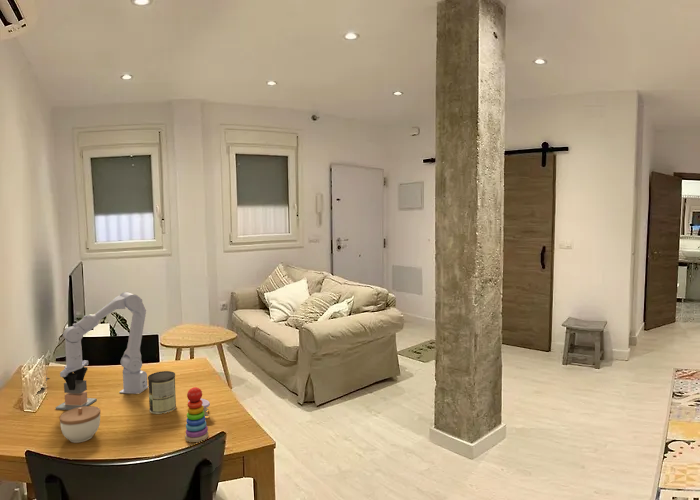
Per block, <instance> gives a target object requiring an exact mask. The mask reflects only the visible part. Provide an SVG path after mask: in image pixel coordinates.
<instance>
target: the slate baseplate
mask: <svg viewBox="0 0 700 500" xmlns="http://www.w3.org/2000/svg"><path fill="white" fill-rule="evenodd" d="M97 400H98V398H93V397H92V398H91V397H87V402H85V403H83V404H82V405H69V404H65V401H64V402H62V403H60V404H59V405H57V406H56V407H55V410H65V411H68V410H71V409H74V408H78V407H83V406H91V405H92V404H93V403H95V402H97Z"/></svg>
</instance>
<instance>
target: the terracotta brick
mask: <svg viewBox="0 0 700 500" xmlns="http://www.w3.org/2000/svg"><path fill="white" fill-rule="evenodd" d="M87 398H88V391H84V392H82V393H65V394H64V402H65V404H69V405H82V404H83V403H85V402H87Z"/></svg>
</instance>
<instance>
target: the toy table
mask: <svg viewBox="0 0 700 500" xmlns="http://www.w3.org/2000/svg"><path fill="white" fill-rule="evenodd" d="M187 400H188V399H187ZM200 400H202V402H203V404H202V406H203V407H204V410H203V411H204V416H209V413H208V412H206V411H207V410H209V408H208V407H210V404H211V403H210V401H209V400H207V399H205V398H201V399H200ZM188 402H189V400H188V401H187V403H188ZM209 411H210V410H209ZM209 417H210V416H209Z"/></svg>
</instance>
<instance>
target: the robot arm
mask: <svg viewBox="0 0 700 500" xmlns="http://www.w3.org/2000/svg"><path fill="white" fill-rule="evenodd" d="M126 308H127V310H129V312H130V313H132V316H131V324H130V330H129V333H128V334H129V335H128V342H127V345H126V349H125V351H124V352H123V355H122V357H121V359H120V365H121V367H122V368H123V370H122V386H123V387H122V388H123V389H121V390H120V391H118V393H120V394H135V395H136V394H137V395H138V394H141V393H142V392H144V391H145V390H147V389H149V385H148V373H147V371H145V370H142V367H143V361H142V354H141V345H142V339H143V334H144V333H143V332H144V327H145V321H146V314H147V310H146V308H145V305H144V303H143V299H142V298H141V297H140V296H139V295H137V294H134V293H132V292H129V291H124V292H122V293H120V294H119V295H116V296H115V297H114V298H113V299H112V300H110V301H109V302H108V303H107V304H106V305H104V306H103V307H102V308H100V309H99V310H97V311H96V312H95V313H94V314H91V313H90V314H87V315H86V314H85V315H83V316H82V317H83V318H82V319H80V320H78V321H77V322H74V323H72V326H68V327H66V328H65V329H64V331H63V333H62V337H63V338H64V339H65V340H64V341H65V342H64V343H65V362H66V364H65V366H64V368H63V370H61V371H60V372H59V376H60V378H63V379H64V381H65V383H67V385H68V388H69V390H75V382H76V380H85V377H86V373H87V372H88V365H89V360H85V359H84V360H83V350H82V339H83V337H84V335H86V334H88V332H90V331H92V330H93V329H95V328H96V327H97V326H99V322H100V320H102V319H104V318H105V317H107V316H108V315H110V314H112V313H113V312H115V311H116V310H125V309H126ZM86 366H87V367H86Z"/></svg>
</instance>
